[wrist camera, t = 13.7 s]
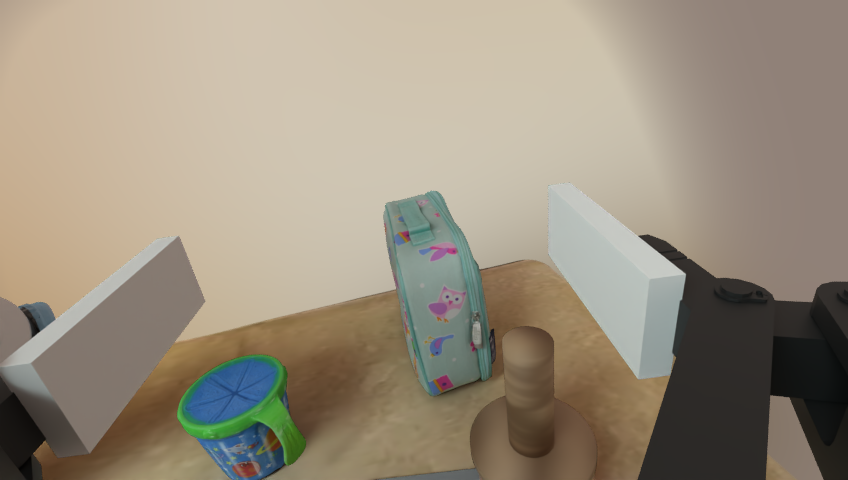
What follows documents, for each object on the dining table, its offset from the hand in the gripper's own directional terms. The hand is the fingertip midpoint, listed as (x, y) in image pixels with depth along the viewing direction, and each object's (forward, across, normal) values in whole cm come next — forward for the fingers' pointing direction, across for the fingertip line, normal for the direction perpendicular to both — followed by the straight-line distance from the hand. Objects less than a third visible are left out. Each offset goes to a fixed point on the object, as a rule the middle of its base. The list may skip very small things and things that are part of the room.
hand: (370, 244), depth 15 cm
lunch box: (+36, +2, -34) cm, 49 cm away
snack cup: (+21, -20, -34) cm, 44 cm away
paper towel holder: (+13, +9, -28) cm, 32 cm away
